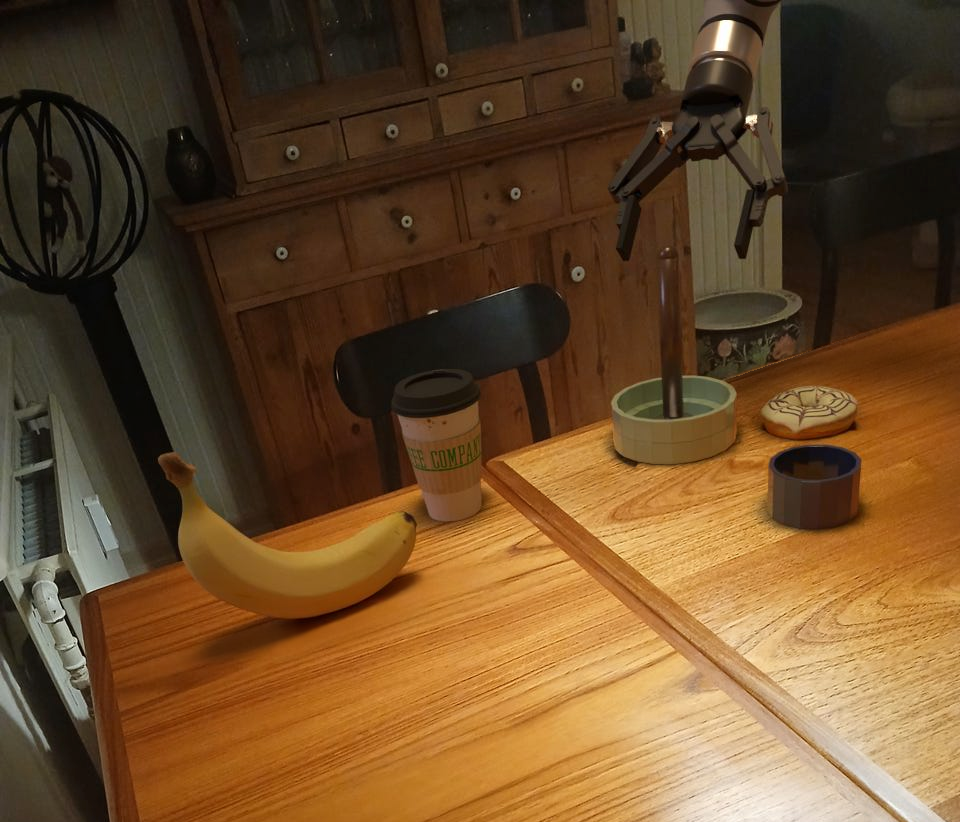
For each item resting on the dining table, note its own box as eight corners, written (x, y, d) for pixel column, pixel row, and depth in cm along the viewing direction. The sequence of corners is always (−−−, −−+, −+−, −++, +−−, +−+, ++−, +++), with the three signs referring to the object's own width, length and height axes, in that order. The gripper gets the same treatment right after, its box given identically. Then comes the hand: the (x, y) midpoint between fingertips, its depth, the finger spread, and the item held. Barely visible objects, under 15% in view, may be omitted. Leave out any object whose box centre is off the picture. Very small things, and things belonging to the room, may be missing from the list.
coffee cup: (405, 531, 110) (379, 404, 102) (421, 492, 118) (398, 371, 110) (491, 526, 108) (472, 395, 100) (502, 487, 116) (484, 362, 108)
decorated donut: (743, 427, 121) (743, 397, 118) (817, 404, 123) (818, 374, 121) (797, 453, 112) (798, 422, 110) (874, 428, 115) (877, 397, 113)
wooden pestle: (698, 430, 120) (694, 237, 107) (691, 447, 116) (686, 249, 104) (657, 430, 121) (648, 240, 109) (649, 446, 118) (639, 252, 105)
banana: (414, 560, 104) (376, 378, 93) (436, 582, 100) (400, 393, 89) (208, 636, 97) (140, 449, 86) (222, 663, 93) (153, 469, 82)
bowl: (743, 421, 122) (743, 374, 119) (727, 471, 111) (726, 421, 108) (628, 421, 127) (625, 376, 124) (602, 469, 116) (598, 422, 113)
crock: (858, 498, 102) (862, 444, 98) (855, 538, 95) (859, 482, 92) (772, 496, 105) (773, 444, 101) (763, 535, 98) (764, 481, 95)
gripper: (838, 92, 109) (798, 270, 107) (627, 111, 121) (588, 272, 119) (829, 42, 102) (787, 231, 100) (607, 68, 114) (565, 237, 112)
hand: (679, 253), depth 109 cm, fingers open, 13 cm apart
